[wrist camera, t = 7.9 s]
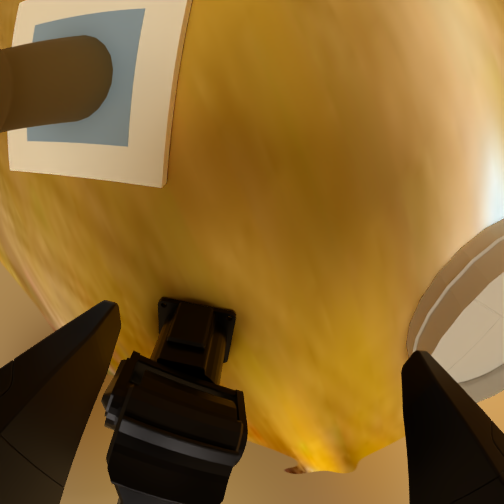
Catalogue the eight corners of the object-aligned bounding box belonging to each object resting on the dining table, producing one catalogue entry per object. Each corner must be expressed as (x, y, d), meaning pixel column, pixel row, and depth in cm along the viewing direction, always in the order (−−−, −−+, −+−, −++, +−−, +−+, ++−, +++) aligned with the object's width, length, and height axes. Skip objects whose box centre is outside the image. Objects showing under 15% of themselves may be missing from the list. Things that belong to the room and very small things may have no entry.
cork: (31, 100, 15) (-93, 145, 6) (66, 23, 13) (-68, 23, 3) (87, 137, 17) (-41, 206, 8) (130, 55, 14) (-11, 56, 5)
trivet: (166, 183, 20) (161, 188, 19) (17, 166, 19) (9, 170, 18) (197, -23, 12) (193, -28, 11) (27, 3, 12) (19, 2, 11)
